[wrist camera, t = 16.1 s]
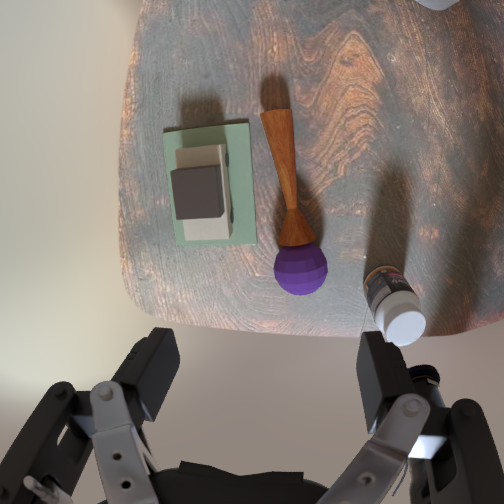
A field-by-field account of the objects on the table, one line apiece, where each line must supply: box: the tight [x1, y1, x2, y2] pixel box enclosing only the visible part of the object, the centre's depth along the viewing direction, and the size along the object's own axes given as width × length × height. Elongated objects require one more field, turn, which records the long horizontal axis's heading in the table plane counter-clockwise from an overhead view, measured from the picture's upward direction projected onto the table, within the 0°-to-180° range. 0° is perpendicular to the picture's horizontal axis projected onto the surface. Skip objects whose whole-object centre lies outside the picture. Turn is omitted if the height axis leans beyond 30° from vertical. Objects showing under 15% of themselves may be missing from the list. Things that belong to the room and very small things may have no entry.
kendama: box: [260, 109, 328, 295], centre depth 30 cm, size 6×6×20 cm
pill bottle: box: [363, 266, 426, 346], centre depth 31 cm, size 6×6×10 cm
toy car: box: [170, 144, 234, 240], centre depth 30 cm, size 10×5×5 cm, turn 4°
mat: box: [163, 123, 257, 246], centre depth 33 cm, size 14×10×1 cm
